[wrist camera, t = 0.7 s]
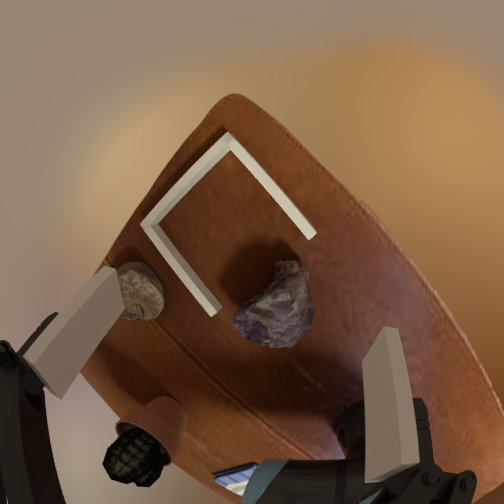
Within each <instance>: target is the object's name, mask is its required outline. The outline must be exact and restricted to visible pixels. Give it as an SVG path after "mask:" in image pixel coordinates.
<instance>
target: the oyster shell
mask: <svg viewBox="0 0 504 504" xmlns="http://www.w3.org/2000/svg"><path fill="white" fill-rule="evenodd" d="M116 272H117V277H118V281H119V286H120V290H121V295H122V299H123V303H124V307H125V309H124V311H123V312H122V313H121V315H120V316H121V317H123V318H124V319H128V320H135V319H137V318H140V319H144V320H147V321H150V320H152V319H155V318H156V317H157V316H158V315H159V314H160V312H161V311H162V308H163V307H164V294H163V288H162V285H161V283H160V281H159V279H158V277H157V275H156V273H155V272H154V271H153V270H152V269H151V268H150V267H149V266H147V265H146V264H144V263H141V262H137V261H135V262H130V263H126V264H123V265H122V266H120V267H119V268H118V269H117V270H116Z"/></svg>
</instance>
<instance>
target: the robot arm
mask: <svg viewBox="0 0 504 504" xmlns="http://www.w3.org/2000/svg"><path fill="white" fill-rule="evenodd" d="M124 309H125V307H124V303H123V299H122V295H121V290H120V286H119V281H118V277H117V272H116V269H114V268H111V267H107V266H104V267H103V268H102V269H101V270H100V271H99V272H98V273H97V274H96V275H95V276H94V277H93V278H92V279H91V280H90V281H89V282H88V283H87V284H86V285H85V286H84V287H83V288H82V289H81V290H80V291H79V292H78V293H77V294H76V295H75V296H74V297H73V299H72V300H71V301H70V302H69V303H68V304H67V305H66V306H65V307H64V308H63V310H62V311H61V312H60V313H57V312H55V313H53V314H51V315H50V316H48V317H47V318H46V319H45V320H44V321H43V322H42V323H41V326H39V327H38V328H37V329H36V332H34V333H33V334H32V335H31V336H30V337H29V339H28V340H27V341H26V342H25V343H24V345H23V346H22V347H21V348H20V350H19V351H18V352H17V353H15V351H14V350H13V348H12V347H11V346H10V344H9V342H7V341H5V340H1V341H0V504H7V500H8V504H66V502H65V499H64V496H63V493H62V490H61V486H60V483H59V479H58V475H57V471H56V467H55V463H54V458H53V453H52V448H51V444H50V438H49V430H48V424H47V416H46V406H45V395H44V390H43V387H44V386H46V388H47V389H48V390H49V391H50V392H51V393H52V394H54V395H55V396H57V397H58V398H59V399H62V398H63V396H64V394H65V393H66V392H67V390H68V388H69V387H70V385H71V384H72V382H73V381H74V379H75V378H76V376H77V375H78V373H79V372H80V370H81V369H82V367H83V366H84V365H85V363H86V362H87V360H88V359H89V357H90V356H91V354H92V353H93V352H94V350H95V349H96V347H97V346H98V345H99V343H100V342H101V340H102V339H103V338H104V336H105V335H106V333H107V332H108V331H109V329H110V328H111V327H112V325H113V324H114V323H115V321H116V320H117V319H118V317H119V316H120V315H121V313H122V312H123V311H124ZM362 371H363V384H364V400H363V401H360V402H358V403H356V404H355V405H353V406H351V407H350V408H349V409H347V410H346V411H345V412H344V413H343V414H342V416H341V417H340V419H339V421H338V423H337V440H338V442H339V444H340V446H341V449H342V451H343V453H344V455H345V459H339V460H292V459H290V458H289V459H268V460H265V461H263V462H261V463H260V464H259V465H258V466H257V467H256V469H255V470H254V471H253V473H252V475H251V477H250V479H249V481H248V483H247V485H246V488H245V491H244V494H243V497H242V501H241V504H471V502H472V499H473V495H474V492H475V489H476V484H477V478H476V475H475V473H474V472H473V471H471V470H466V471H463V472H461V473H459V474H455V473H449V472H444V471H442V470H441V468H440V467H439V466H438V465H436V464H435V462H434V458H433V449H432V440H431V432H430V429H429V427H430V425H429V421H428V419H429V418H428V412H427V407H426V405H425V403H424V402H423V400H422V398H412V393H411V388H410V382H409V377H408V372H407V367H406V362H405V357H404V353H403V349H402V344H401V340H400V336H399V332H398V328H391V327H383V328H382V330H381V332H380V334H379V335H378V337H377V339H376V340H375V342H374V344H373V345H372V347H371V348H370V350H369V352H368V353H367V355H366V356H365V358H364V360H363V361H362ZM6 496H7V498H6Z"/></svg>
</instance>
